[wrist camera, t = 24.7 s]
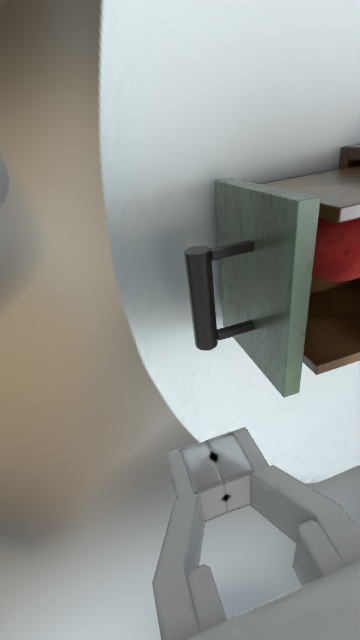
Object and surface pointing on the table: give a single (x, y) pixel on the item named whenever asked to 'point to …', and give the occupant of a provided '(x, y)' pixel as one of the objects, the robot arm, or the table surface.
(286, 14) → the table surface
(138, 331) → the table surface
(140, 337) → the table surface
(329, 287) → the drawer
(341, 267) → the onion
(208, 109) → the table surface
